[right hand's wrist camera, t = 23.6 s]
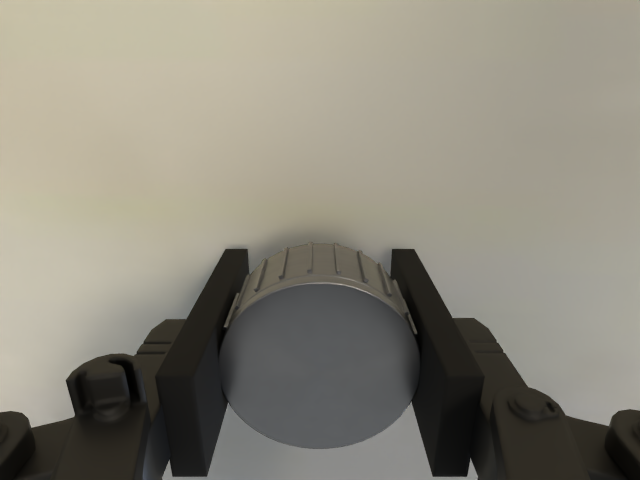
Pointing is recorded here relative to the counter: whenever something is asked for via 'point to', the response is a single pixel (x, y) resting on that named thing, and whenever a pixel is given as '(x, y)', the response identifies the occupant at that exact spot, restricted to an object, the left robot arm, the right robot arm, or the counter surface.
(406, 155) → the counter surface
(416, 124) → the counter surface
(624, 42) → the counter surface
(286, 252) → the lid
